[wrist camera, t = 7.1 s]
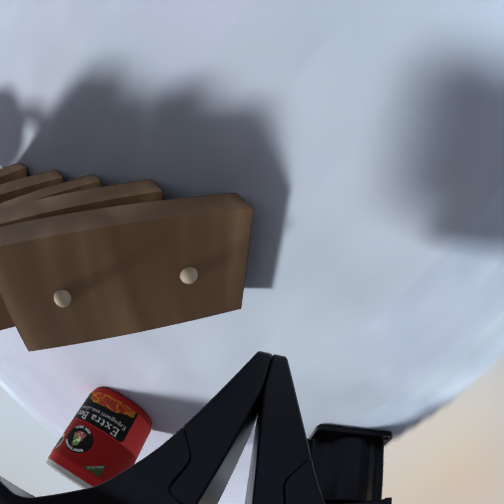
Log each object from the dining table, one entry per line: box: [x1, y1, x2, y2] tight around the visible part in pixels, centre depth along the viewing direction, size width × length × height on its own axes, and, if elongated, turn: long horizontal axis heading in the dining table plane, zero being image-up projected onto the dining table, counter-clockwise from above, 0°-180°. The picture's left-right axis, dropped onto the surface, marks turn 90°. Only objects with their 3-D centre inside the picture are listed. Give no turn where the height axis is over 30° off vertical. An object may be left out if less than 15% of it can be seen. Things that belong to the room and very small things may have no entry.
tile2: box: [0, 179, 163, 330], centre depth 11 cm, size 2×5×10 cm
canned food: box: [46, 388, 152, 489], centre depth 23 cm, size 8×8×11 cm
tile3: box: [0, 175, 101, 209], centre depth 11 cm, size 2×5×10 cm
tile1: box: [0, 193, 254, 351], centre depth 11 cm, size 2×5×10 cm
